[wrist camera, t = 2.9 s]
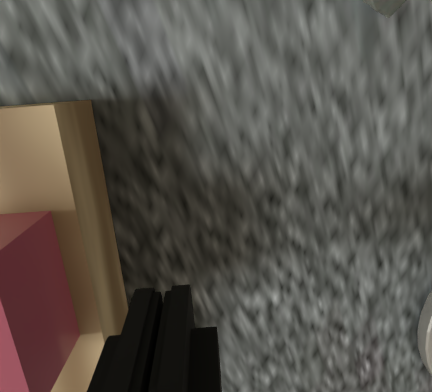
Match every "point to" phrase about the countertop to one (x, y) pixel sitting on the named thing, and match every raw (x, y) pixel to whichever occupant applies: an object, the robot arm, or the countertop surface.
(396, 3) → the stone
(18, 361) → the pink toy cube
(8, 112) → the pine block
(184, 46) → the countertop surface
